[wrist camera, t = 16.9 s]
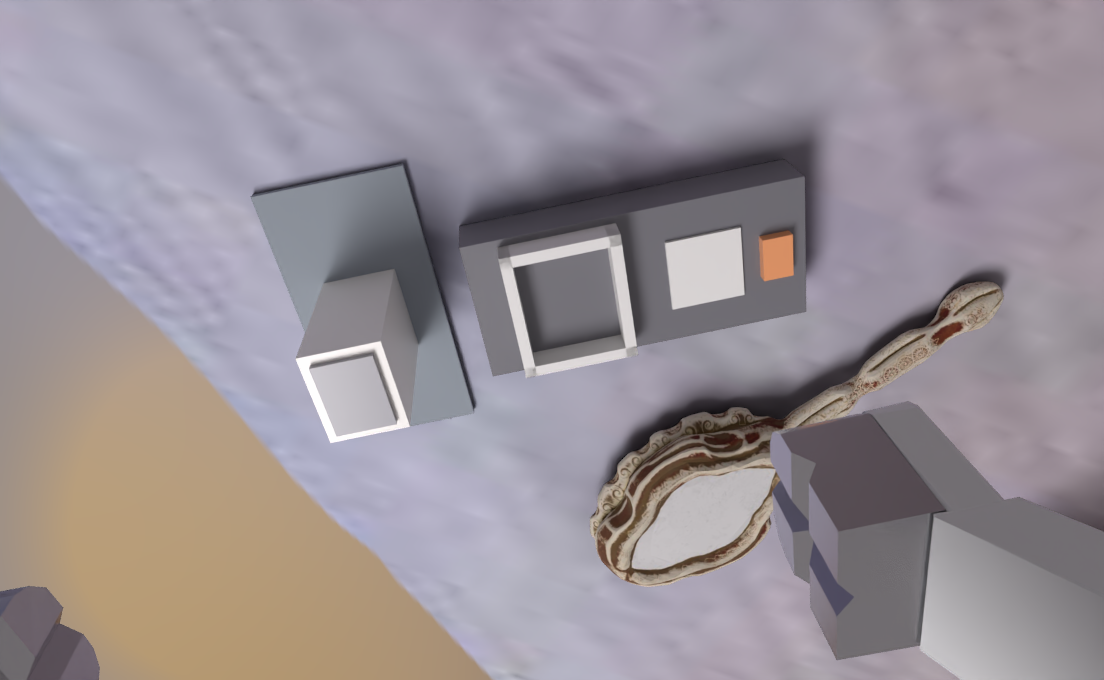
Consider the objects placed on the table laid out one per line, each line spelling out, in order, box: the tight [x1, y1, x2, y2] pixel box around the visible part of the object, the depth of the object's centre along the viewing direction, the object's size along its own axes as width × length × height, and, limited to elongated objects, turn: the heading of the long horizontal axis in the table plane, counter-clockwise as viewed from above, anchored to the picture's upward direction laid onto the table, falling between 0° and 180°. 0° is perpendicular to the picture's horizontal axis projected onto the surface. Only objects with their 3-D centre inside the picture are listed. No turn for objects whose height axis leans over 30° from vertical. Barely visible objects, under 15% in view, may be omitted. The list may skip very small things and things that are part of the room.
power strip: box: [459, 159, 806, 378], centre depth 42 cm, size 8×18×4 cm, turn 100°
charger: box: [296, 269, 419, 443], centre depth 40 cm, size 5×4×8 cm
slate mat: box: [251, 164, 474, 426], centre depth 44 cm, size 16×8×1 cm, turn 10°
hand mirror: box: [590, 281, 1004, 587], centre depth 49 cm, size 11×6×30 cm
